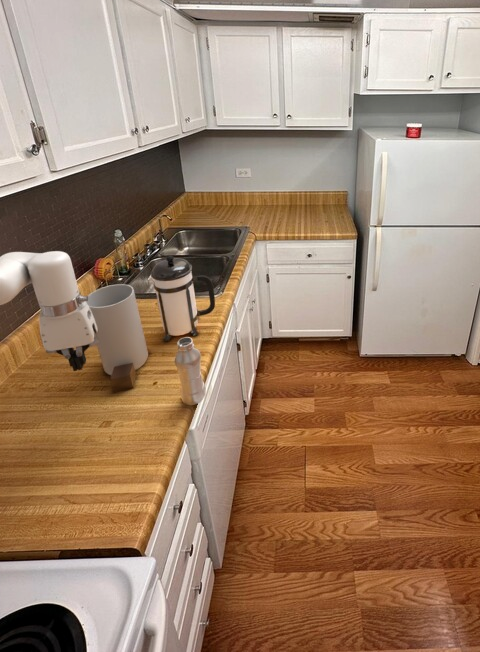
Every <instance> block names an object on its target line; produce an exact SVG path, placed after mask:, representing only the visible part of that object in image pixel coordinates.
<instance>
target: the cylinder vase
mask: <svg viewBox="0 0 480 652" xmlns="http://www.w3.org/2000/svg"><path fill="white" fill-rule="evenodd" d="M87 296H88V301H87V302H86V303H87V304H88V306H89V308H90V310H91V312H92V314H93V317H94V319H95V322H96V325H97V329H98V331H97V333H96V335H97V337H98V338H99V342H98V344H97V345H96V348H97V351H98V354H99V357H100V361H101V364H102V369H103V370H104V372H105V374H107V375H109V376H111V375H112V372H113V369H114V367H115V366H120V365H125V364H130V363H133V365H134V369H135V371H138V370H139V369H140V368H141V367H142V366H143V365H145V363H146V362H147V359H148V358H149V351H148V347H147V342H146V338H145V334H144V329H143V325H142V321H141V315H140V311H139V307H138V306H139V305H138V302H137V299H136V294H135V290H134V286H132V285H130V284H124V283H119V284H117V283H116V284H111V285H106V286H103V287H100V288H98V289H96V290H94V291H92V292H90V293H89V294H87Z"/></svg>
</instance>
